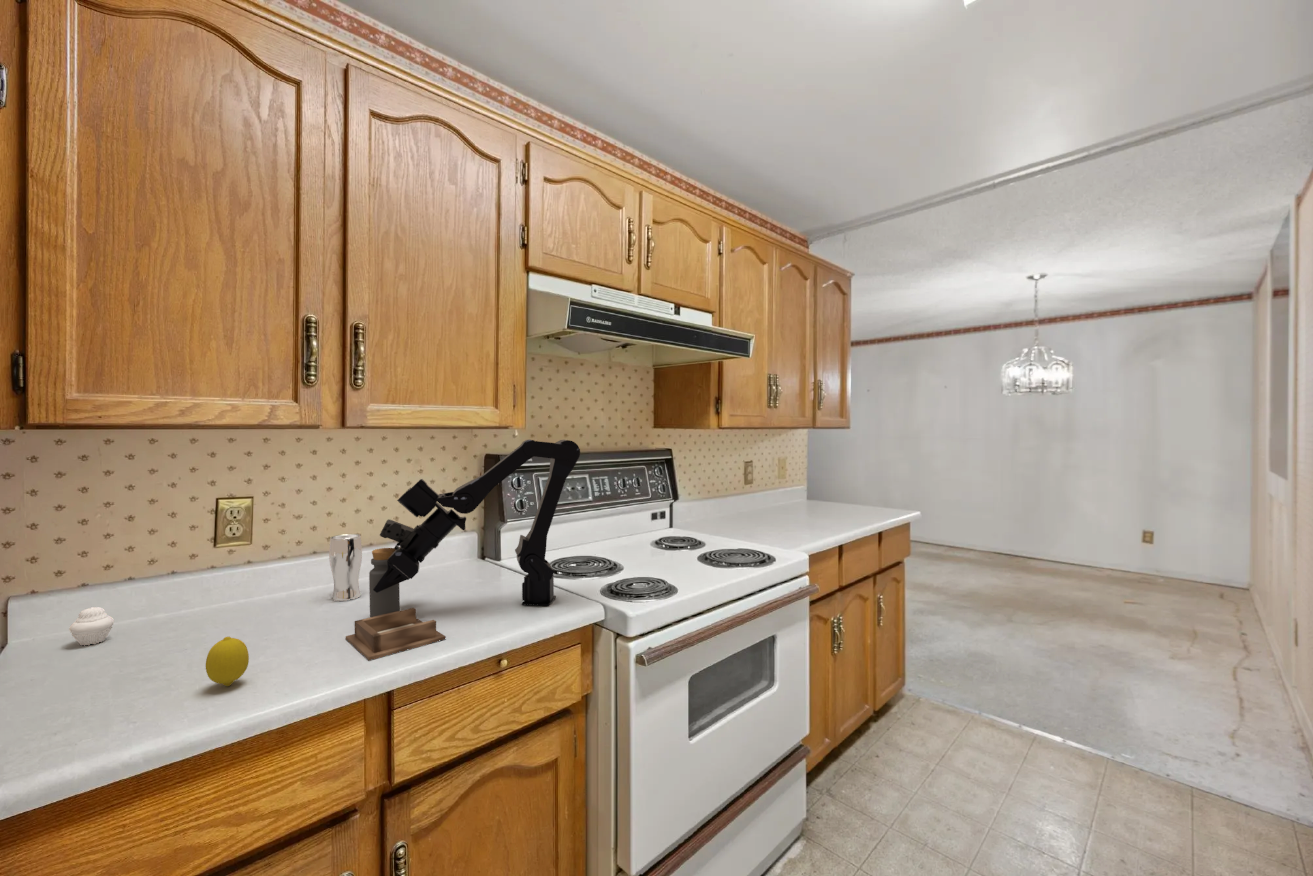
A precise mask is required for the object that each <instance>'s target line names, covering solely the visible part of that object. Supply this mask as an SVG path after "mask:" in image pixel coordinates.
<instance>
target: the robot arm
mask: <svg viewBox="0 0 1313 876" xmlns="http://www.w3.org/2000/svg"><path fill="white" fill-rule="evenodd" d="M580 456H581V448H580V447H579V445H578V444H577V443H576V442H575V441H573V440H568V439H559V440H558V441H556V442H548V441H541V440H539V441H538V440H537V441H536V440H534V439H525V440H524V441H522V442H521V444H520V445H519V446H518V447H516V448H515V449H514V450H512V451H511V452H510V453H509V454H507V455H506V456H505V457H504V458H502V459H501V460H500V461H498V462H497V463H496V464H495V465H493V466H492V467H491V468H490V469H489V468H488V470H487V471H486V472H484V473H483V474H481V475H480V476H477V477H475V478H473V479H471V480H470V481H468V482H465V483H464V484H461V485H459V487H457V488H456V489H454V490H453V491H450V492H443V493H439V494H438V493H437V492H436V491H435V490H434V489H433V488H432V487H430V486H429V485H428V483H427V482H426V480H424V479H423V478H419V480H418V481H417V482H416V483H415V484H414V485H413V486H412V487H409V488H408V489H407V490H406V491H405V492H404V493H403V494H402V495H401V496H400V497H399V498H397V500H396V502H398V503H399V504H400V505H401V506H403V508H405V509H406V510H407V511H408V512H409V513H411V514H412V515H413V516H414V517H415V518H418V517H423V518H425V517H426V516H427V515H429V514H430V513H431V512H432V511H433V510H434V509H435V508H436V509H435V510H434V511H433V512H432V513H431V514H430V516H428V517H427V518H426V519H425V520H424V521H423V522H422V523H421V524H417V525H416V526H415V527H414V528H413V527H411V526H408V525H407V524H403V523H401V522H399V521H395V520H392V519H387V520H386V522H384V523H385V524H384V526H383V527H382V530H381V531H380V534H379V536H380V537H382V538H384V539H389V540H392V541H393V542H394V541H395V542H397V543H396V544H395V545H394V547H393V548H395V549H396V550H395V551H394V552H393V553H392V555H391V556H390V557H389V558H388V560H387V566H388V569H387V570H386V572H385V573H384V575H383V576H382V577H381V579H380V580H379V582H378V583H377V584H376V586H375V587H374V589H373V590H374V591H375V592H376V593H378V592H380V591H382V590H384V589H387V588H389V587H391V586H393V585H396V584H398V583H399V584H400V583H403V582H406V581H409V580H410V579H411V580H412V579H413V578H414V577H416V575H417V574H418V573H419V571H420V563H421V564H422V562H423V561H424V560H425V558H426V557H427V556H428V555H429V554H430V553H431V552H432V551H433V550H434V549H437V548H438V546H439V545H440V543H441V542H442V541H443V540H444V539H445V537H447V536H448V535H449V534H450V533H451V532H452V531H453V530H454V529H455V528H456V527H459V529H461V530H462V531H466V528H467V527H466V521H467V517H466V516H460V515H459V514H463V515H468V514H470V513H473V512H474V511H475V510H476V509H477V508H478V506H479V505H480V504H481V503H482V502H483V501H484V500H485V499H486V497H487V496H488V495H489V494H490V492H491V491H492V490H493V489H494V488H495V487H496V486H498V485H499V484H500V483H501V482H503V480H505V479H506V478H507V477H509V476H510V475H512V474H513V473H514V472H515V471H517V469H519V468H520V467H522V466H523V465H524V464H526V462H528V461H529V460H530V459H531V458H534V457H536V458H544V459H550V460H549V472H548V473H549V474H548V477H547V480H546V483H545V485H544V488H543V492H542V495H541V498H540V501H539V504H538V507H537V509H536V512H535V513H536V514H535V515H534V520H533V522H532V524H531V528H530V530H529V532H528V533H527V534H526V536H525V535H523V534H520V536H519V539H518V544H517V547H516V548H515V549H514V551H515V554H516V560H517V562H518V566H519V568H520V569H521V571H523V572H524V573H526V575H525V576H523V582H522V583H521V600H522V602H521V605H522V606H536V607H537V606H540V607H541V606H542V607H549V606H550V605H551V604H552V603H553V602H554V600H556V598H557V595H555V593H554V590H555V587H554V586H555V585H554V584H555V582H554V578H555V577H554V572H555V571H554V569H553V567H552V565H551V564H550V562H549V561H548V560H547V559H546V554H547V553H546V551H547V540H548V534H549V530H550V528H551V524H552V521H553V519H554V516H555V513H556V510H557V507H558V505H559V502H560V501H559V500H560V497H561V495H562V492H563V488H564V486H565V484H566V483H565V482H566V480H567V478H568V477H569V476H570V474H571V473H572V472H573V469H575V467H576V464H577V462H578V460H579V459H580ZM446 508H450V509H448V510H447V509H446ZM458 513H459V514H458Z"/></svg>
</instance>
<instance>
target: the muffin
mask: <svg viewBox="0 0 1313 876" xmlns="http://www.w3.org/2000/svg"><path fill="white" fill-rule="evenodd" d="M114 623H115V619H114V618H113V617H112V616H110V615H108V613H107V612H106V610H105V609H104V608H103V607H98V606H95V607H94V606H93V607H92V606H91V607H89V608H85V609H83V610H81V612H79V613H78V617H77V618H76V619H75V621H74V622H73V623H72V624H71V625H70V626H69V628H68V630H69V632H70V633H71V636H72V637H73V638H74V639H75V640H76V641H77V642H78V644H79V645H80V646H82V645H84V646H85V645H88V646H91V645H90V644H94V645H97V644H96V643H98V644H100V643H99V642H101V643H103V642H105V640H106V638H107V637H108V635H109V633H110V632H111V631H112V628H113V626H114ZM102 641H103V642H102ZM84 646H83V647H84ZM85 647H86V646H85Z"/></svg>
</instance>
